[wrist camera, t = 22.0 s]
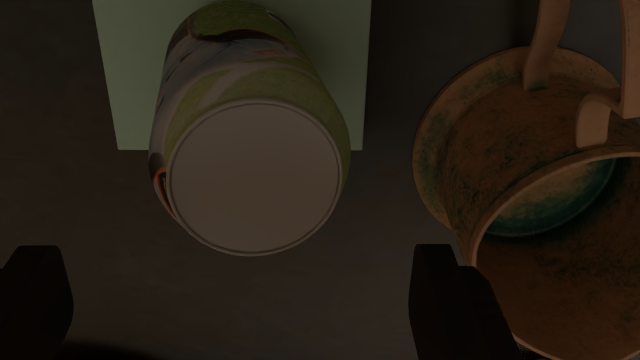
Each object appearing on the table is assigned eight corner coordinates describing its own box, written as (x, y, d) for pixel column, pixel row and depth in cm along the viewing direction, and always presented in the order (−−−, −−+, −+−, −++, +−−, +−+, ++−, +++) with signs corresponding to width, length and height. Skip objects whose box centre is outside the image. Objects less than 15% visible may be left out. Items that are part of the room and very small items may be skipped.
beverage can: (145, 29, 25) (39, 156, 15) (297, -44, 24) (296, 40, 14) (215, 145, 28) (167, 319, 18) (354, 86, 27) (389, 236, 17)
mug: (644, -116, 25) (892, -89, 14) (622, 217, 34) (767, 384, 23) (379, -56, 26) (432, 10, 15) (424, 254, 34) (478, 430, 24)
